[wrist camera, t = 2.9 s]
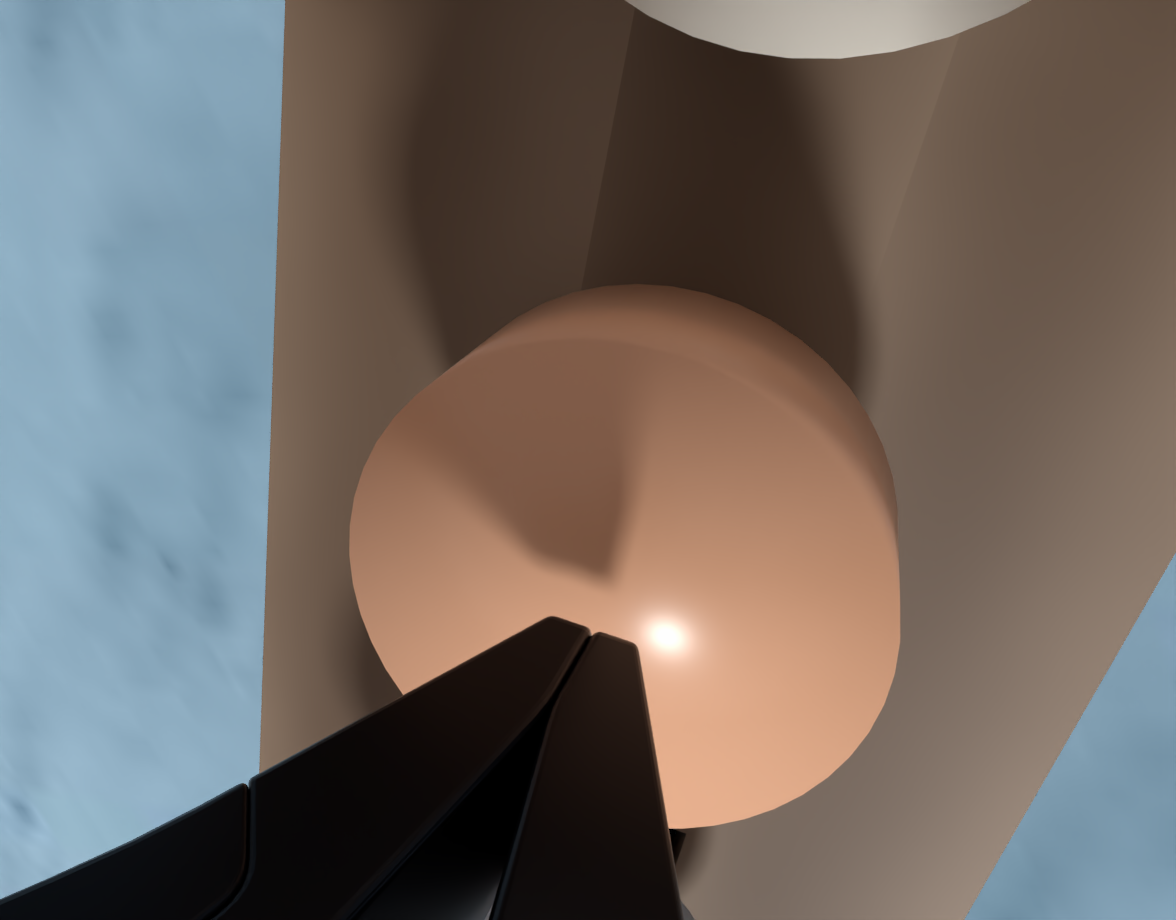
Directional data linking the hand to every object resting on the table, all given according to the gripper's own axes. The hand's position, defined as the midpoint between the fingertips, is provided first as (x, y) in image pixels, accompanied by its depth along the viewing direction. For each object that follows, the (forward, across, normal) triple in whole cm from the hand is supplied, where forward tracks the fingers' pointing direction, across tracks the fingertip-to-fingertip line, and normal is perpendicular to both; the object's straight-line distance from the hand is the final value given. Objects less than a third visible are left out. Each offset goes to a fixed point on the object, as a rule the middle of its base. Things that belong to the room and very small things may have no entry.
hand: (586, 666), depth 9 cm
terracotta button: (+6, 0, 0) cm, 6 cm away
